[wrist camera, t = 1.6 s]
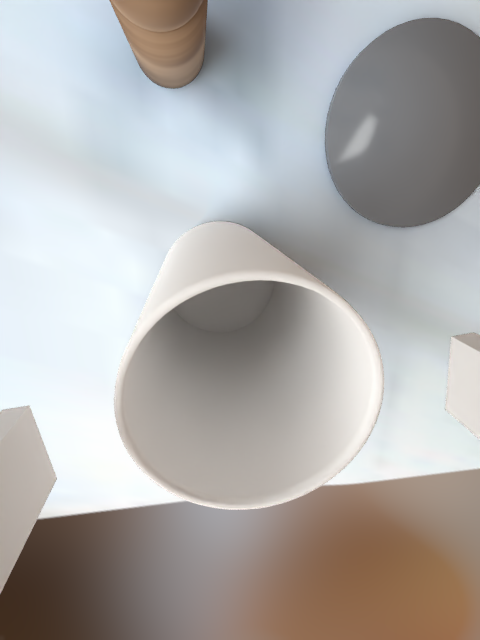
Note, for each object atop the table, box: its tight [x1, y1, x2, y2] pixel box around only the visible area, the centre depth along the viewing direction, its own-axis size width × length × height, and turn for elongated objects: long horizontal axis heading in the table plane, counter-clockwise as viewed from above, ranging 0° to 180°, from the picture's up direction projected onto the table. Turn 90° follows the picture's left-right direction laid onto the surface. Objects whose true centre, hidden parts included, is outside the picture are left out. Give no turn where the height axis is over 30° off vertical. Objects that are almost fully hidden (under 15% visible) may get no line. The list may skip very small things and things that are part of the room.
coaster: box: [325, 18, 480, 227], centre depth 24 cm, size 12×12×1 cm
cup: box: [114, 221, 384, 510], centre depth 18 cm, size 8×8×16 cm
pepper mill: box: [110, 0, 208, 88], centre depth 16 cm, size 4×4×10 cm
